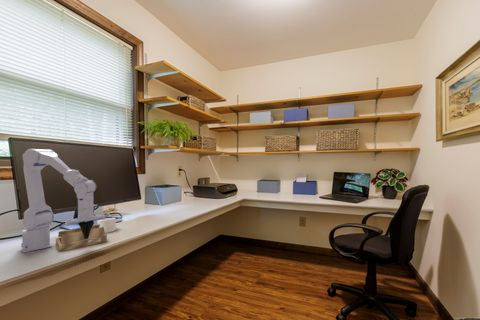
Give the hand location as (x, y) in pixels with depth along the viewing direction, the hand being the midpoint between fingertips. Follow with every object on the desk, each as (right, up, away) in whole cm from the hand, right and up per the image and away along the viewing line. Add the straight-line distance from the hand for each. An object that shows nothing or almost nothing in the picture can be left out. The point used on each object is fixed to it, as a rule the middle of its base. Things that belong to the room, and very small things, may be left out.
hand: (86, 238), depth 100 cm
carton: (-7, -5, +8) cm, 12 cm away
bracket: (-9, -6, +22) cm, 24 cm away
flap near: (-4, 0, +4) cm, 6 cm away
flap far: (-11, 0, +11) cm, 15 cm away
